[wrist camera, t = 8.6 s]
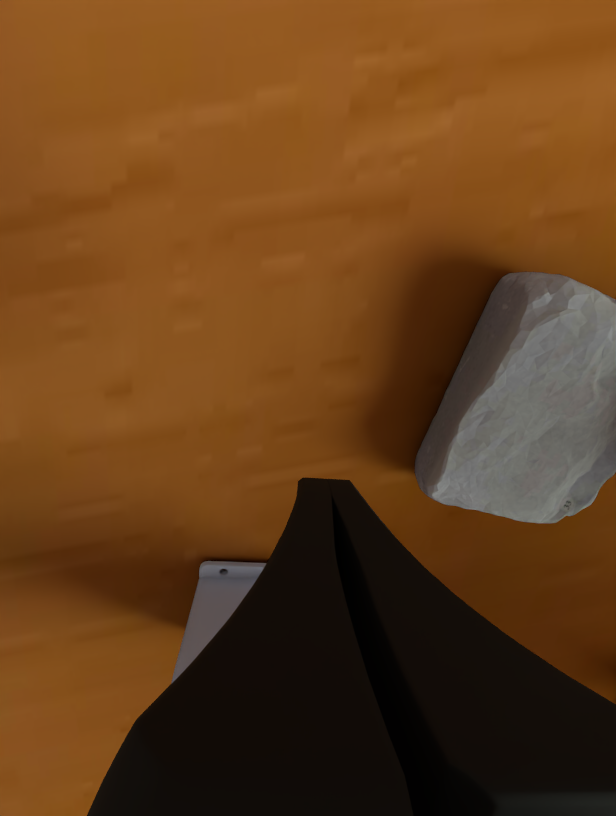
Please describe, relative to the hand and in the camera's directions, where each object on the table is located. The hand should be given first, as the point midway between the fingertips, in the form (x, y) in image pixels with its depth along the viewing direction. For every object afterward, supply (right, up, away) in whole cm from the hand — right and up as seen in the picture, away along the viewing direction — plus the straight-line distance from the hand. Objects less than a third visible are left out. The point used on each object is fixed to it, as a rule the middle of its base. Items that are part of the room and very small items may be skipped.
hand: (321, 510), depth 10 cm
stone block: (+11, +3, +11) cm, 16 cm away
